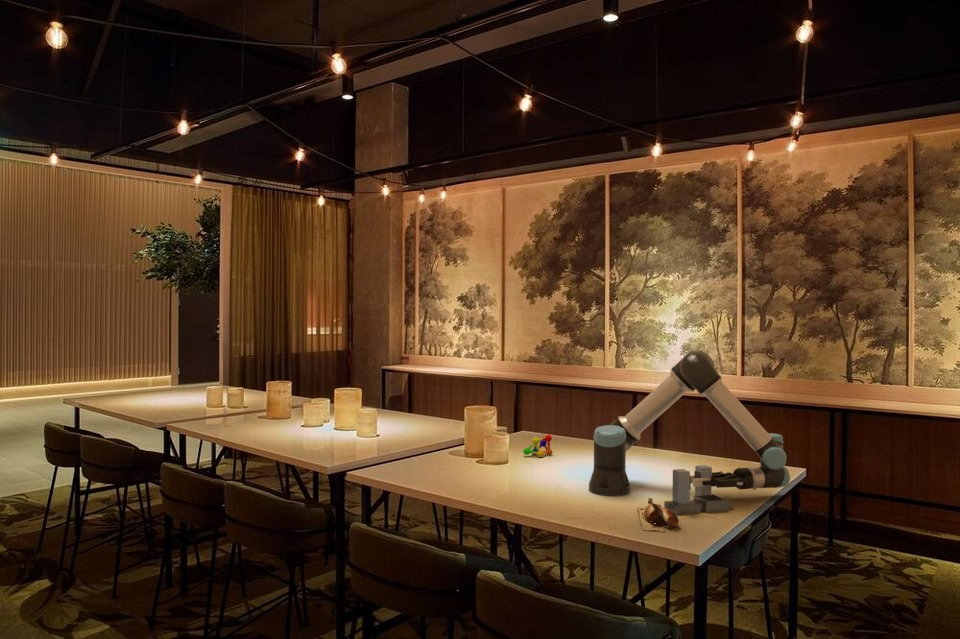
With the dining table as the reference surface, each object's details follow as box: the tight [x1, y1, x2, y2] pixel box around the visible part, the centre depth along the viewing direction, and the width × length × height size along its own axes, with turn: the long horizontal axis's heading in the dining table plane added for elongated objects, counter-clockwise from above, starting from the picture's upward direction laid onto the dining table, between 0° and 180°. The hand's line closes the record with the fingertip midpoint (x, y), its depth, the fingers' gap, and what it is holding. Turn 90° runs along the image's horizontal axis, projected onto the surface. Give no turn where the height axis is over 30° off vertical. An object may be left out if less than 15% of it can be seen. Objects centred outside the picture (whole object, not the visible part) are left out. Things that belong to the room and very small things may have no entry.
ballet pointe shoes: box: [637, 497, 680, 533], centre depth 219 cm, size 14×7×28 cm
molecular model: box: [522, 434, 553, 458], centre depth 317 cm, size 11×10×15 cm
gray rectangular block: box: [693, 464, 713, 496], centre depth 241 cm, size 5×4×11 cm
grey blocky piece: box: [663, 468, 734, 516], centre depth 230 cm, size 22×8×14 cm, turn 104°
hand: (689, 481), depth 240 cm, fingers closed on gray rectangular block, 4 cm apart
